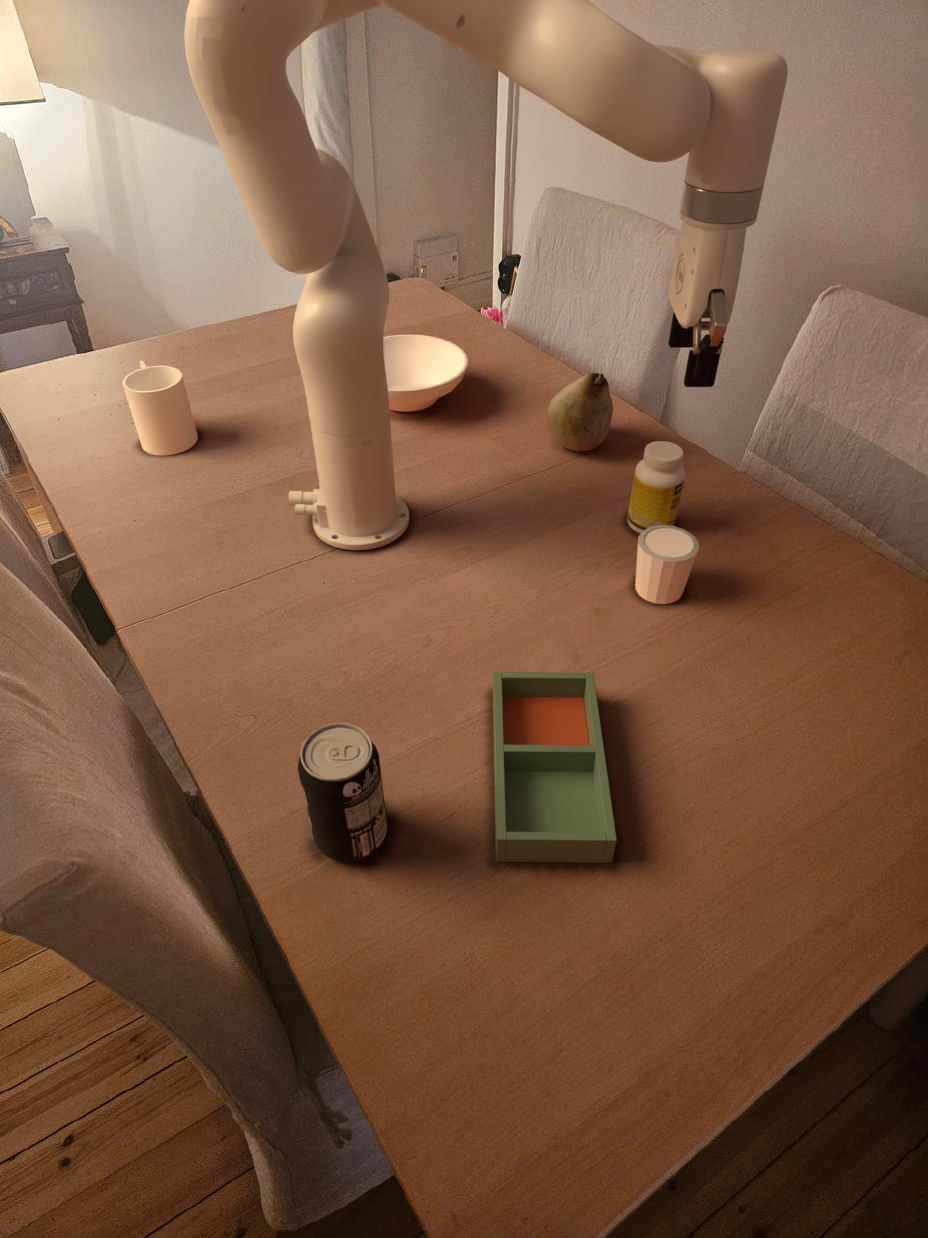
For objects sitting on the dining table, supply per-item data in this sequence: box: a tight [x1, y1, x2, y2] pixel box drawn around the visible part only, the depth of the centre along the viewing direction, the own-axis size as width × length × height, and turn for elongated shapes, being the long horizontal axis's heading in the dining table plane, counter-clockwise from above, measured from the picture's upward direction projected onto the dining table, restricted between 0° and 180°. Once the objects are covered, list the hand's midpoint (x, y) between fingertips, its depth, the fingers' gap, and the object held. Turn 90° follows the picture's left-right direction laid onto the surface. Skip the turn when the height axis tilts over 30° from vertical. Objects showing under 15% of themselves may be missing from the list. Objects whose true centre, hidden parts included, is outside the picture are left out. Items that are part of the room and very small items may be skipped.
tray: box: [492, 671, 618, 864], centre depth 77 cm, size 10×19×4 cm, turn 179°
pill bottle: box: [626, 440, 686, 535], centre depth 104 cm, size 6×6×11 cm
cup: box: [121, 360, 199, 456], centre depth 121 cm, size 8×12×10 cm
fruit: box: [546, 372, 614, 453], centre depth 118 cm, size 10×9×12 cm
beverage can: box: [297, 722, 388, 863], centre depth 70 cm, size 7×7×12 cm
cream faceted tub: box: [634, 525, 700, 605], centre depth 96 cm, size 7×7×7 cm
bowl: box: [384, 333, 469, 413], centre depth 130 cm, size 20×20×7 cm
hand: (689, 365), depth 93 cm, fingers open, 9 cm apart
